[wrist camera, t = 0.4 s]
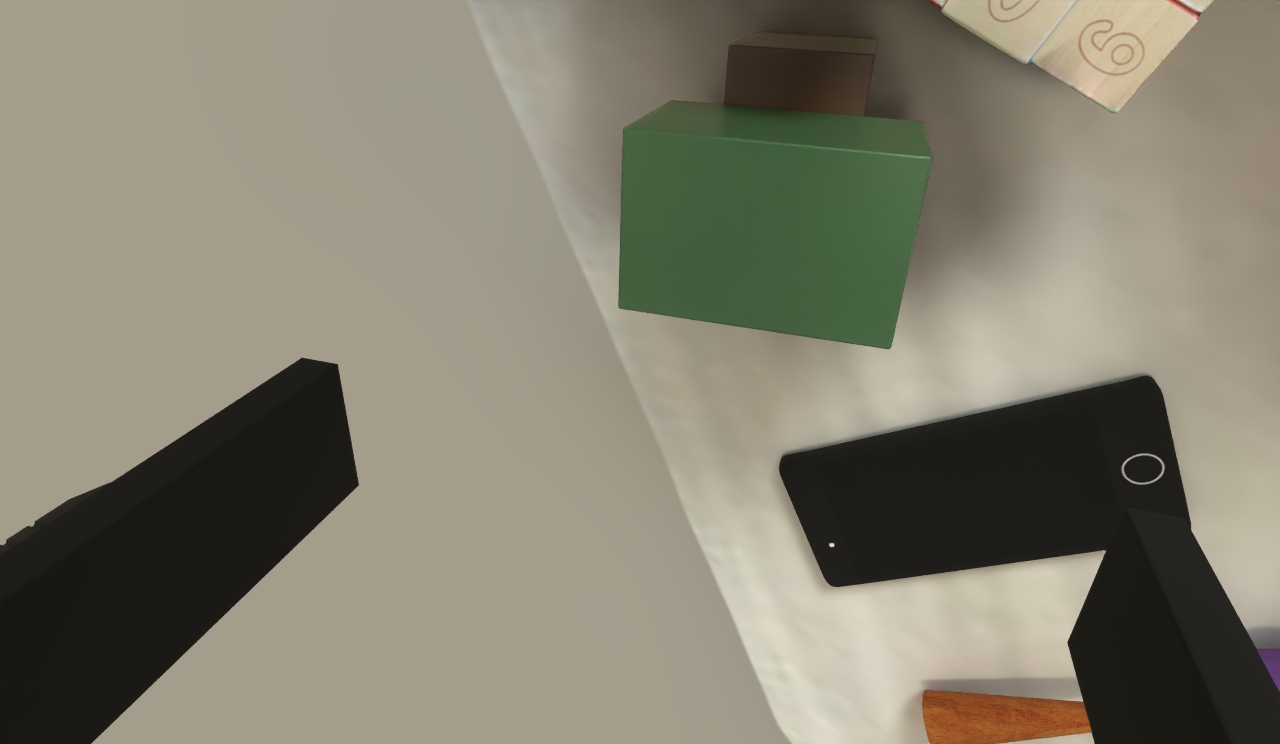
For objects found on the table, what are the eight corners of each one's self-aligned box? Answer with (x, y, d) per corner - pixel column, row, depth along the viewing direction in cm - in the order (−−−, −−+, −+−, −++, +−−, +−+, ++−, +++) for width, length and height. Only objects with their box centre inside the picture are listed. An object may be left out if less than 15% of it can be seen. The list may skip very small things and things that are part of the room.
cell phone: (1188, 526, 37) (1195, 538, 36) (829, 578, 45) (828, 589, 44) (1154, 371, 34) (1160, 381, 33) (777, 455, 42) (775, 464, 41)
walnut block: (757, 31, 33) (728, 44, 27) (877, 39, 31) (874, 54, 25) (735, 252, 37) (705, 306, 31) (838, 266, 36) (828, 323, 30)
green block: (670, 99, 28) (622, 127, 23) (923, 120, 26) (933, 156, 21) (662, 254, 31) (617, 309, 26) (890, 284, 29) (890, 350, 24)
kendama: (910, 711, 42) (1381, 700, 32) (921, 646, 47) (1330, 619, 38) (942, 801, 43) (1410, 816, 33) (949, 727, 48) (1357, 721, 38)
